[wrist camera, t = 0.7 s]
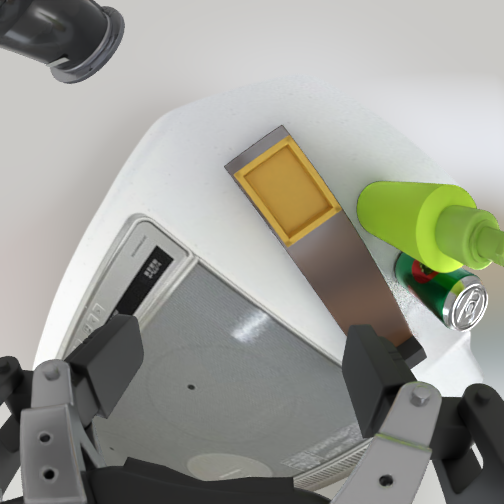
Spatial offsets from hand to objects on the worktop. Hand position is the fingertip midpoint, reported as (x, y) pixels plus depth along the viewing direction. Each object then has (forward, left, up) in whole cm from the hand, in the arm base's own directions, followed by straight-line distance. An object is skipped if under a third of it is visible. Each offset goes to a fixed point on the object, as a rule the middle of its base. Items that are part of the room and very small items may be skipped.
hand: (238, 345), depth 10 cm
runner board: (+4, +8, -20) cm, 22 cm away
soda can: (+5, +17, -20) cm, 27 cm away
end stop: (+16, +15, -19) cm, 29 cm away
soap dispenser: (-2, +14, -20) cm, 24 cm away
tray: (-5, +3, -19) cm, 19 cm away
